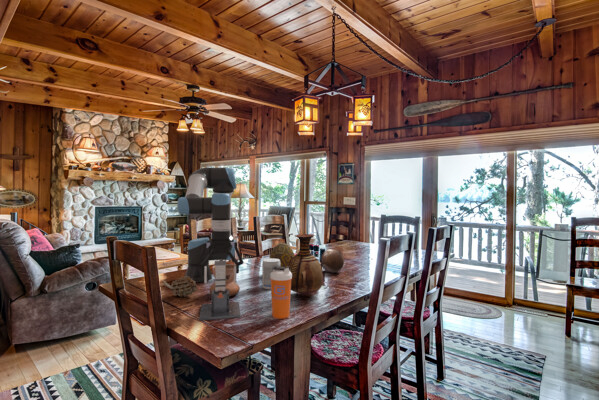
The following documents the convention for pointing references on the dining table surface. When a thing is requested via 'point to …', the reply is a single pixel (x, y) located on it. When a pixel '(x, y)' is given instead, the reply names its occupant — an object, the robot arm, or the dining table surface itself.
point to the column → (220, 277)
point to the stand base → (220, 307)
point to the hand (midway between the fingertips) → (220, 281)
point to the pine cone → (182, 286)
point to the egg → (282, 254)
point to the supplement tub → (268, 271)
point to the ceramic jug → (227, 280)
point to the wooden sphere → (332, 260)
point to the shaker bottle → (280, 291)
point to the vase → (305, 269)
